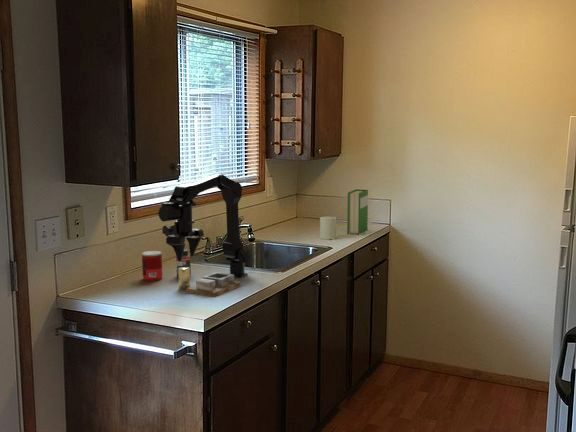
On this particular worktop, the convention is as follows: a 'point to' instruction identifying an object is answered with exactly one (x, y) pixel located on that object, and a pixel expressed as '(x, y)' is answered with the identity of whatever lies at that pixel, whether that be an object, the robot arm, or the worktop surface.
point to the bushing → (184, 277)
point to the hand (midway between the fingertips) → (185, 258)
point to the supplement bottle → (183, 261)
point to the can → (328, 227)
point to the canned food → (152, 265)
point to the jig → (214, 284)
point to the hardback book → (357, 211)
